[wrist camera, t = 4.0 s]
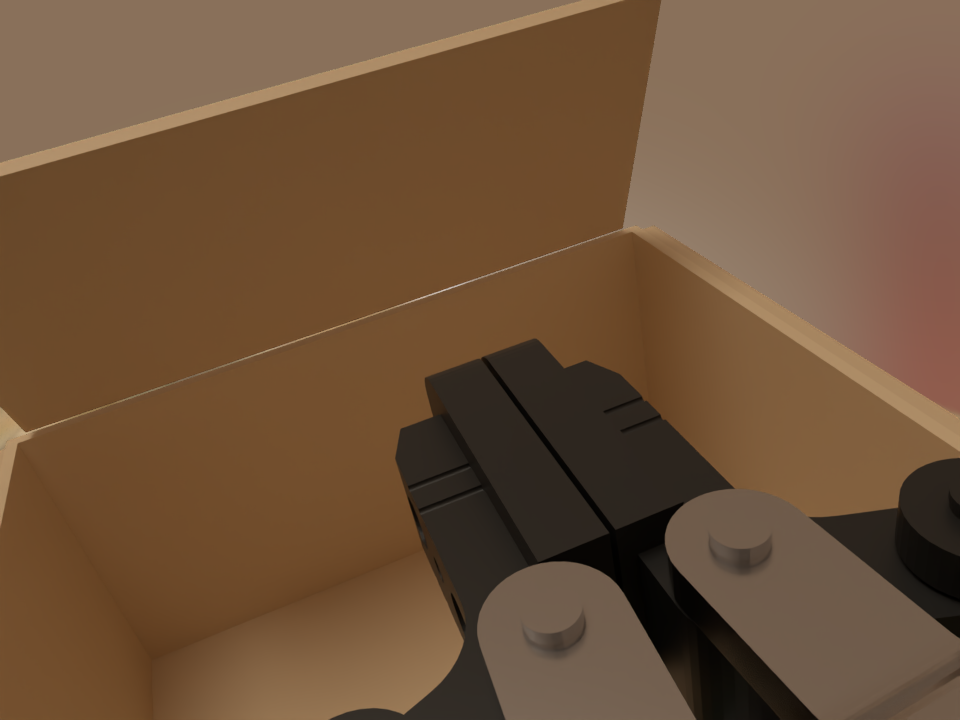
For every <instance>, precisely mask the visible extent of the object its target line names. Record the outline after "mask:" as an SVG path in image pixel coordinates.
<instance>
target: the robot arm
mask: <svg viewBox="0 0 960 720" xmlns="http://www.w3.org/2000/svg"><path fill="white" fill-rule="evenodd" d="M425 387H426V392H427V396H428V400H429V403H430V407H431V411H432V414H433V417H431V418H429V419H426V420H423V421H420V422H418V423H415V424H412V425H410V426H407V427H404V428H401V429H400V434H399V439H398V445H397V451H396V456H395V460H396V463H397V466H398V470H399V473H400V476H401V479H402V482H403V486H404V489H405V492H406V495H407V499H408V502H409V505H410V508H411V511H412V515H413V518H414V521H415V524H416V527H417V531H418V534H419V537H420V540H421V544H422V547H423V549H424V551H425V554H426V556H427V558H428V561H429V563H430V565H431V567H432V570H433V572H434V574H435V577H436V578H437V581H438V583H439V586H440V588H441V590H442V592H443V595H444V597H445V599H446V601H447V603H448V606H449V608H450V611H451V613H452V615H453V618H454V620H455V622H456V624H457V627H458V629H459V631H460V634H461V636H462V638H463V640H464V643H463V647H462V649H461V652H460V654H459V656H458V659H457V661H456V662H455V664H454V666H453V667H452V669H451V671H450V672H449V673H448V674H447V676H446V677H445V678H444V679H443V680H442V682H441V683H440V684H439V685H438V686H437V687H435V688H434V689H433V690H432V691H431V692H430V693H429V694H428V695H427V696H425V697H424V698H423V699H422V700H421V701H419V702H418V703H417V704H416V705H415V706H413V707H412V708H411V709H410V710H409V711H407V712H406V713H405V714H404V715H403V714H401V713H399V712H396V711H392V710H388V709H380V708H367V709H358V710H354V711H349V712H346V713H343V714H340V715H338V716H335V717H333V718H331V719H329V720H960V458H950V459H944V460H939V461H935V462H932V463H929V464H926V465H924V466H922V467H920V468H918V469H916V470H915V471H914V472H912V473H911V474H910V475H909V476H908V477H907V478H906V479H905V481H904V482H903V484H902V486H901V488H900V494H899V502H898V508H891V509H884V510H876V511H869V512H861V513H854V514H846V515H839V516H829V517H808V516H807V515H805V514H804V513H803V512H802V511H800V510H799V509H798V508H796V507H795V506H793V505H792V504H791V503H789V502H787V501H785V500H783V499H781V498H779V497H777V496H774V495H771V494H768V493H765V492H760V491H755V490H747V489H735V488H734V487H733V486H732V485H731V484H730V483H729V482H728V481H727V480H726V479H725V478H724V477H723V476H722V475H721V474H720V473H719V472H718V471H717V470H716V469H715V468H714V467H713V466H712V465H711V464H710V463H709V462H708V461H707V460H706V459H705V458H704V457H703V456H702V455H701V454H700V453H699V452H698V451H697V450H696V449H695V448H694V447H693V446H692V445H691V444H690V443H689V442H688V441H687V440H686V439H685V438H684V437H683V436H682V435H681V434H680V433H679V432H678V431H677V430H676V429H675V428H674V427H673V426H672V425H671V424H670V423H669V422H668V421H667V420H666V419H665V420H663V419H662V418H661V414H660V413H659V412H658V411H657V410H656V409H655V408H654V407H653V406H652V405H651V404H650V403H649V402H648V401H644V400H643V398H642V395H641V394H640V393H639V392H638V391H637V390H636V389H635V388H634V387H633V386H632V385H631V384H630V383H629V382H628V381H626V380H625V379H624V378H623V377H622V376H621V375H620V374H619V373H616V372H614V371H611V370H609V369H606V368H604V367H602V366H599V365H597V364H594V363H592V362H589V361H587V360H586V361H583V362H580V363H577V364H575V365H572V366H569V367H566V368H563V366H562V365H561V364H560V363H559V362H558V361H557V360H556V359H555V358H554V356H553V355H552V354H551V353H550V352H549V351H548V350H547V349H546V347H545V346H544V345H543V344H542V343H541V342H540V341H539V340H537V339H535V338H533V339H531V340H528V341H525V342H522V343H519V344H517V345H514V346H511V347H508V348H505V349H503V350H500V351H497V352H494V353H491V354H489V355H486V356H483V357H482V358H481V359H475V360H472V361H470V362H467V363H464V364H461V365H459V366H456V367H453V368H450V369H447V370H445V371H442V372H439V373H436V374H433V375H431V376H428V377H425Z"/></svg>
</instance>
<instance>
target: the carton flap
mask: <svg viewBox="0 0 960 720" xmlns="http://www.w3.org/2000/svg"><path fill="white" fill-rule="evenodd" d="M660 4H661V0H582V1H578V2H574V3H571V4H567V5H564V6H561V7H556V8H553V9H550V10H546V11H542V12H539V13H535V14H531V15H528V16H524V17H521V18H517V19H514V20H510V21H506V22H503V23H500V24H496V25H492V26H488V27H485V28H481V29H478V30H474V31H470V32H467V33H463V34H460V35H456V36H453V37H449V38H445V39H442V40H438V41H435V42H431V43H427V44H424V45H420V46H417V47H413V48H410V49H406V50H403V51H399V52H395V53H392V54H388V55H385V56H381V57H377V58H374V59H370V60H367V61H363V62H360V63H356V64H353V65H349V66H345V67H342V68H338V69H335V70H331V71H327V72H324V73H320V74H317V75H313V76H309V77H306V78H303V79H299V80H295V81H291V82H288V83H284V84H281V85H277V86H274V87H270V88H266V89H263V90H259V91H256V92H252V93H249V94H245V95H241V96H238V97H234V98H230V99H227V100H223V101H220V102H216V103H213V104H209V105H206V106H202V107H198V108H195V109H191V110H187V111H184V112H180V113H177V114H173V115H170V116H166V117H162V118H159V119H155V120H152V121H148V122H145V123H141V124H137V125H134V126H130V127H127V128H123V129H120V130H116V131H112V132H109V133H105V134H102V135H98V136H95V137H91V138H88V139H84V140H80V141H76V142H73V143H69V144H66V145H62V146H59V147H55V148H51V149H48V150H44V151H41V152H37V153H34V154H30V155H26V156H23V157H19V158H16V159H12V160H9V161H5V162H1V163H0V406H1V408H2V409H3V410H4V411H5V412H6V413H7V414H8V415H9V416H10V417H11V418H12V419H13V420H14V421H15V422H16V423H17V424H18V425H19V426H20V427H21V428H22V429H23V430H24V431H25V432H29V431H31V430H34V429H37V428H40V427H43V426H46V425H49V424H52V423H55V422H58V421H61V420H64V419H67V418H69V417H72V416H75V415H78V414H81V413H84V412H87V411H90V410H93V409H96V408H99V407H102V406H105V405H107V404H110V403H113V402H116V401H119V400H122V399H125V398H128V397H131V396H134V395H137V394H140V393H143V392H145V391H148V390H151V389H154V388H157V387H160V386H163V385H166V384H169V383H172V382H175V381H178V380H180V379H183V378H186V377H189V376H192V375H195V374H198V373H201V372H204V371H207V370H210V369H213V368H216V367H218V366H221V365H224V364H227V363H230V362H233V361H236V360H239V359H242V358H245V357H248V356H251V355H254V354H256V353H259V352H262V351H265V350H268V349H271V348H274V347H277V346H280V345H283V344H286V343H289V342H292V341H294V340H297V339H300V338H303V337H306V336H309V335H312V334H315V333H318V332H321V331H324V330H327V329H329V328H332V327H335V326H338V325H341V324H344V323H347V322H350V321H353V320H356V319H359V318H362V317H365V316H367V315H370V314H373V313H376V312H379V311H382V310H385V309H388V308H391V307H394V306H397V305H400V304H403V303H405V302H408V301H411V300H414V299H417V298H420V297H423V296H426V295H429V294H432V293H435V292H438V291H441V290H443V289H446V288H449V287H452V286H455V285H458V284H461V283H464V282H467V281H470V280H473V279H476V278H478V277H481V276H484V275H487V274H490V273H493V272H496V271H499V270H502V269H505V268H508V267H511V266H514V265H516V264H519V263H522V262H525V261H528V260H531V259H534V258H537V257H540V256H543V255H546V254H548V253H551V252H554V251H557V250H560V249H563V248H566V247H569V246H572V245H575V244H578V243H581V242H584V241H587V240H589V239H592V238H595V237H598V236H601V235H604V234H607V233H610V232H613V231H616V230H618V229H622V228H623V222H624V216H625V211H626V205H627V199H628V193H629V187H630V181H631V175H632V169H633V164H634V158H635V152H636V146H637V140H638V134H639V128H640V122H641V116H642V110H643V105H644V98H645V93H646V87H647V81H648V75H649V68H650V63H651V57H652V51H653V45H654V39H655V34H656V27H657V21H658V16H659V10H660Z"/></svg>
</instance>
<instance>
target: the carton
mask: <svg viewBox="0 0 960 720" xmlns="http://www.w3.org/2000/svg"><path fill="white" fill-rule="evenodd" d="M533 338H535V339H537V340H539V341H540V342H541V343H542V344H543V345H544V346H545V347H546V349H547V350H548V351H549V352H550V353H551V354H552V355H553V356H554V358H555V359H556V360H557V361H558V362H559V363H560V364H561V365H562V366H563V368H566V367H569V366H572V365H575V364H577V363H580V362H583V361H586V360H587V361H589V362H592V363H594V364H597V365H599V366H602V367H604V368H606V369H609V370H611V371H614V372H616V373H619V374H620V375H621V376H622V377H623V378H624V379H625V380H626V381H628V382H629V383H630V384H631V385H632V386H633V387H634V388H635V389H636V390H637V391H638V392H639V393H640V394H641V395H642V398H643V400H644V401H648V402H649V403H650V404H651V405H652V406H653V407H654V408H655V409H656V410H657V411H658V412H659V413H660V414H661V418H662V419H663V420H665V419H666V420H667V421H668V422H669V423H670V424H671V425H672V426H673V427H674V428H675V429H676V430H677V431H678V432H679V433H680V434H681V435H682V436H683V437H684V438H685V439H686V440H687V441H688V442H689V443H690V444H691V445H692V446H693V447H694V448H695V449H696V450H697V451H698V452H699V453H700V454H701V455H702V456H703V457H704V458H705V459H706V460H707V461H708V462H709V463H710V464H711V465H712V466H713V467H714V468H715V469H716V470H717V471H718V472H719V473H720V474H721V475H722V476H723V477H724V478H725V479H726V480H727V481H728V482H729V483H730V484H731V485H732V486H733V487H734V488H735V489H747V490H755V491H760V492H765V493H768V494H771V495H774V496H777V497H779V498H781V499H783V500H785V501H787V502H789V503H791V504H792V505H793V506H795V507H796V508H798V509H799V510H800V511H802V512H803V513H804V514H805V515H807V516H808V517H829V516H839V515H846V514H854V513H861V512H869V511H876V510H884V509H891V508H898V502H899V494H900V488H901V486H902V484H903V482H904V481H905V479H906V478H907V477H908V476H909V475H910V474H911V473H912V472H914V471H915V470H916V469H918V468H920V467H922V466H924V465H926V464H929V463H932V462H935V461H939V460H944V459H950V458H960V419H959V418H958V417H956V416H955V415H953V414H952V413H950V412H948V411H947V410H945V409H944V408H942V407H940V406H939V405H937V404H936V403H934V402H933V401H931V400H929V399H928V398H926V397H925V396H923V395H921V394H920V393H918V392H917V391H915V390H913V389H912V388H910V387H909V386H907V385H906V384H904V383H902V382H901V381H899V380H897V379H896V378H895V377H893V376H891V375H889V374H888V373H887V372H885V371H883V370H882V369H880V368H879V367H877V366H876V365H874V364H872V363H871V362H869V361H868V360H866V359H864V358H863V357H861V356H860V355H858V354H856V353H855V352H853V351H852V350H850V349H849V348H847V347H845V346H844V345H842V344H841V343H839V342H837V341H836V340H834V339H833V338H831V337H829V336H828V335H826V334H825V333H823V332H821V331H820V330H818V329H817V328H815V327H814V326H812V325H811V324H809V323H807V322H806V321H804V320H803V319H801V318H799V317H798V316H796V315H795V314H793V313H792V312H790V311H788V310H787V309H785V308H784V307H782V306H780V305H779V304H777V303H776V302H774V301H772V300H771V299H769V298H768V297H766V296H764V295H763V294H761V293H760V292H758V291H756V290H755V289H753V288H752V287H750V286H749V285H747V284H745V283H744V282H742V281H741V280H739V279H738V278H736V277H735V276H733V275H731V274H730V273H728V272H727V271H725V270H723V269H722V268H720V267H719V266H717V265H715V264H714V263H712V262H711V261H709V260H708V259H706V258H704V257H703V256H701V255H700V254H698V253H696V252H695V251H693V250H692V249H690V248H688V247H687V246H685V245H684V244H682V243H681V242H679V241H677V240H676V239H674V238H673V237H671V236H670V235H668V234H666V233H665V232H663V231H662V230H660V229H658V228H657V227H655V226H651V227H648V228H645V229H641V228H639V227H638V226H633V227H630V228H627V229H624V230H621V231H618V232H615V233H612V234H609V235H607V236H604V237H601V238H598V239H595V240H592V241H589V242H586V243H583V244H580V245H577V246H574V247H571V248H569V249H566V250H563V251H560V252H557V253H554V254H552V255H548V256H545V257H542V258H539V259H536V260H534V261H531V262H528V263H525V264H522V265H519V266H516V267H513V268H510V269H507V270H504V271H501V272H498V273H496V274H493V275H490V276H487V277H484V278H481V279H478V280H475V281H472V282H469V283H466V284H463V285H461V286H458V287H455V288H452V289H449V290H446V291H443V292H440V293H437V294H434V295H431V296H428V297H426V298H423V299H420V300H417V301H414V302H411V303H408V304H405V305H402V306H399V307H396V308H393V309H391V310H388V311H385V312H382V313H379V314H376V315H373V316H370V317H367V318H364V319H361V320H358V321H356V322H353V323H350V324H347V325H344V326H341V327H338V328H335V329H332V330H329V331H326V332H323V333H320V334H318V335H315V336H312V337H309V338H306V339H303V340H300V341H297V342H294V343H291V344H288V345H285V346H283V347H280V348H277V349H274V350H271V351H268V352H265V353H262V354H259V355H256V356H253V357H250V358H248V359H245V360H242V361H239V362H236V363H233V364H230V365H227V366H224V367H221V368H218V369H215V370H213V371H210V372H207V373H204V374H201V375H198V376H195V377H192V378H189V379H186V380H183V381H180V382H178V383H175V384H172V385H169V386H166V387H163V388H160V389H157V390H154V391H151V392H148V393H145V394H143V395H140V396H137V397H134V398H131V399H128V400H125V401H122V402H119V403H116V404H113V405H110V406H108V407H105V408H102V409H99V410H96V411H93V412H90V413H87V414H84V415H81V416H78V417H75V418H73V419H70V420H67V421H64V422H61V423H58V424H55V425H52V426H49V427H46V428H43V429H40V430H37V431H35V432H32V433H29V434H26V435H23V436H20V437H17V438H14V439H11V440H8V441H7V442H6V446H5V449H4V450H1V451H0V720H329V719H331V718H333V717H335V716H338V715H340V714H343V713H346V712H349V711H354V710H358V709H367V708H380V709H388V710H392V711H396V712H399V713H401V714H403V715H404V714H405V713H406V712H407V711H409V710H410V709H411V708H412V707H413V706H415V705H416V704H417V703H418V702H419V701H421V700H422V699H423V698H424V697H425V696H427V695H428V694H429V693H430V692H431V691H432V690H433V689H434V688H435V687H437V686H438V685H439V684H440V683H441V682H442V680H443V679H444V678H445V677H446V676H447V674H448V673H449V672H450V671H451V669H452V667H453V666H454V664H455V662H456V661H457V659H458V656H459V654H460V652H461V649H462V647H463V643H464V640H463V638H462V636H461V634H460V631H459V629H458V627H457V624H456V622H455V620H454V618H453V615H452V613H451V611H450V608H449V606H448V603H447V601H446V599H445V597H444V595H443V592H442V590H441V588H440V586H439V583H438V581H437V578H436V577H435V574H434V572H433V570H432V567H431V565H430V563H429V561H428V558H427V556H426V554H425V551H424V549H423V547H422V544H421V540H420V537H419V534H418V531H417V527H416V524H415V521H414V518H413V515H412V511H411V508H410V505H409V502H408V499H407V495H406V492H405V489H404V486H403V482H402V479H401V476H400V473H399V470H398V466H397V463H396V460H395V456H396V451H397V445H398V439H399V434H400V429H401V428H404V427H407V426H410V425H412V424H415V423H418V422H420V421H423V420H426V419H429V418H431V417H433V414H432V411H431V407H430V403H429V400H428V396H427V392H426V387H425V377H428V376H431V375H433V374H436V373H439V372H442V371H445V370H447V369H450V368H453V367H456V366H459V365H461V364H464V363H467V362H470V361H472V360H475V359H481V358H482V357H483V356H486V355H489V354H491V353H494V352H497V351H500V350H503V349H505V348H508V347H511V346H514V345H517V344H519V343H522V342H525V341H528V340H531V339H533Z"/></svg>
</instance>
